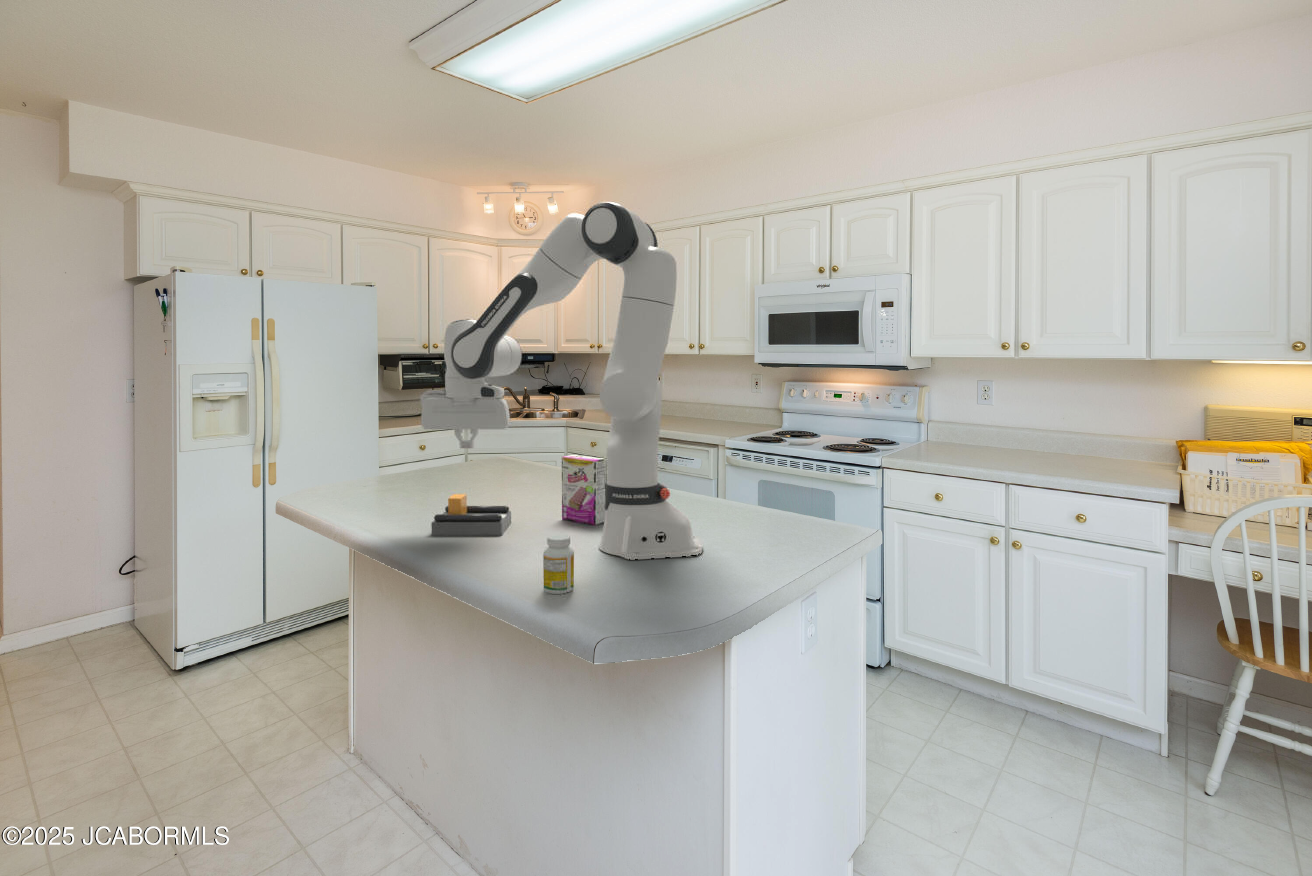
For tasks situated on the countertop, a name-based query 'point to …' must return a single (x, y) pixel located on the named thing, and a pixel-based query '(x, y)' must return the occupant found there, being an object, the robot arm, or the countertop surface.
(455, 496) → the block
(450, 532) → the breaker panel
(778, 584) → the countertop surface
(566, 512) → the candy bar box
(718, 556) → the countertop surface
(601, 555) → the countertop surface
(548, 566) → the supplement bottle
